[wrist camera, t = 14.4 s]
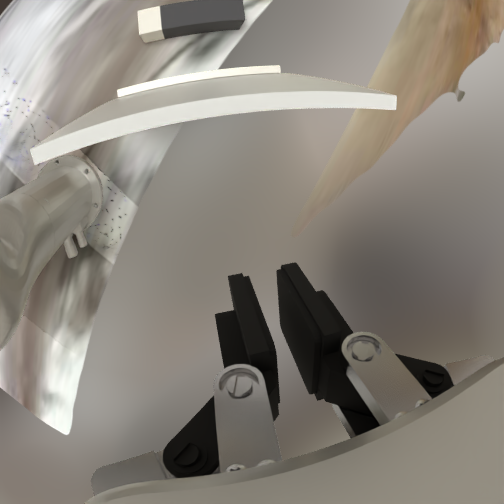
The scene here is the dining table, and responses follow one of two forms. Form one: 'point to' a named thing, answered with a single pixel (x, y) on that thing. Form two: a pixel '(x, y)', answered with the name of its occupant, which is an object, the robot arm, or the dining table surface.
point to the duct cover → (207, 106)
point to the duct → (197, 78)
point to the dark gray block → (190, 18)
